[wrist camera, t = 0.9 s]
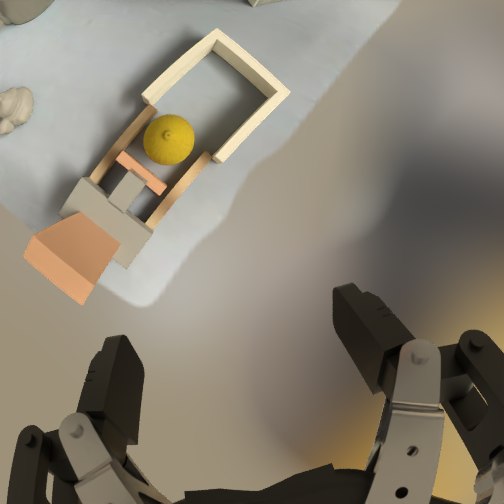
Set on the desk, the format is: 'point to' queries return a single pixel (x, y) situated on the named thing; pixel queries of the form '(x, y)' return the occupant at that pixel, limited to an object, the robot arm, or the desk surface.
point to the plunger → (93, 231)
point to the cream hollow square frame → (242, 64)
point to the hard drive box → (261, 2)
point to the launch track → (123, 144)
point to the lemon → (168, 140)
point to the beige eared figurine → (15, 108)
